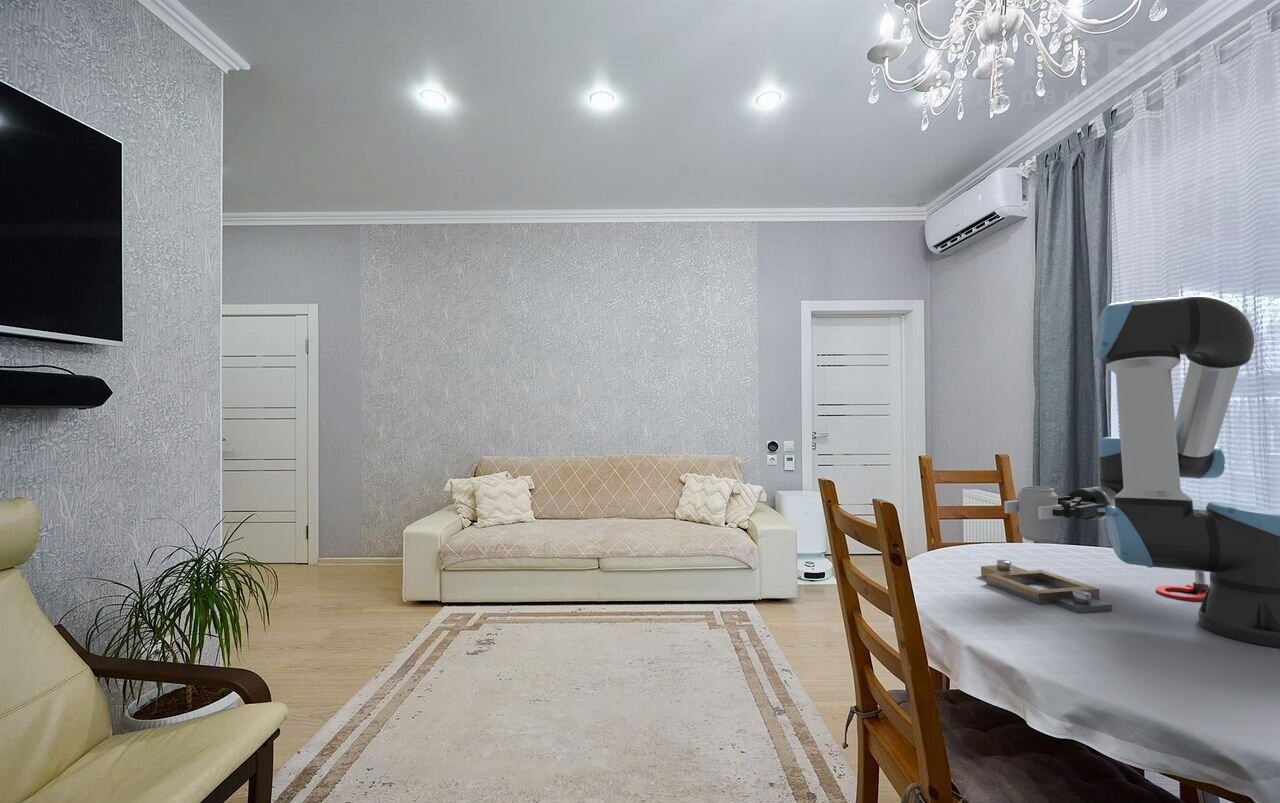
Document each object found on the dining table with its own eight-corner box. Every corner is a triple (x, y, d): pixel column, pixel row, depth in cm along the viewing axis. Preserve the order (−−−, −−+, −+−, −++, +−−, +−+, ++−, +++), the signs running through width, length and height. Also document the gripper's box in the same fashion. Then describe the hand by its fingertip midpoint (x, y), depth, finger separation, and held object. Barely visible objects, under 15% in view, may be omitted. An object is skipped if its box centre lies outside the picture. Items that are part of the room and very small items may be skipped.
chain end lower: (1126, 609, 119) (1126, 594, 119) (1063, 614, 117) (1063, 599, 117) (1041, 579, 140) (1041, 567, 140) (986, 583, 138) (986, 571, 138)
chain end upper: (1099, 599, 125) (1098, 580, 125) (1038, 604, 123) (1038, 585, 123) (1021, 572, 146) (1021, 556, 146) (968, 576, 144) (968, 559, 144)
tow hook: (1178, 603, 123) (1223, 601, 123) (1173, 543, 124) (1218, 541, 123) (1146, 591, 132) (1188, 589, 131) (1141, 535, 132) (1183, 532, 132)
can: (1057, 537, 133) (1056, 486, 133) (1060, 544, 127) (1058, 490, 127) (1018, 534, 137) (1017, 484, 137) (1019, 540, 131) (1018, 488, 131)
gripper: (1141, 526, 128) (1068, 535, 121) (1050, 512, 147) (983, 519, 140) (1140, 493, 128) (1067, 499, 121) (1049, 483, 148) (982, 488, 140)
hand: (1022, 510), depth 131 cm, fingers closed on can, 7 cm apart
